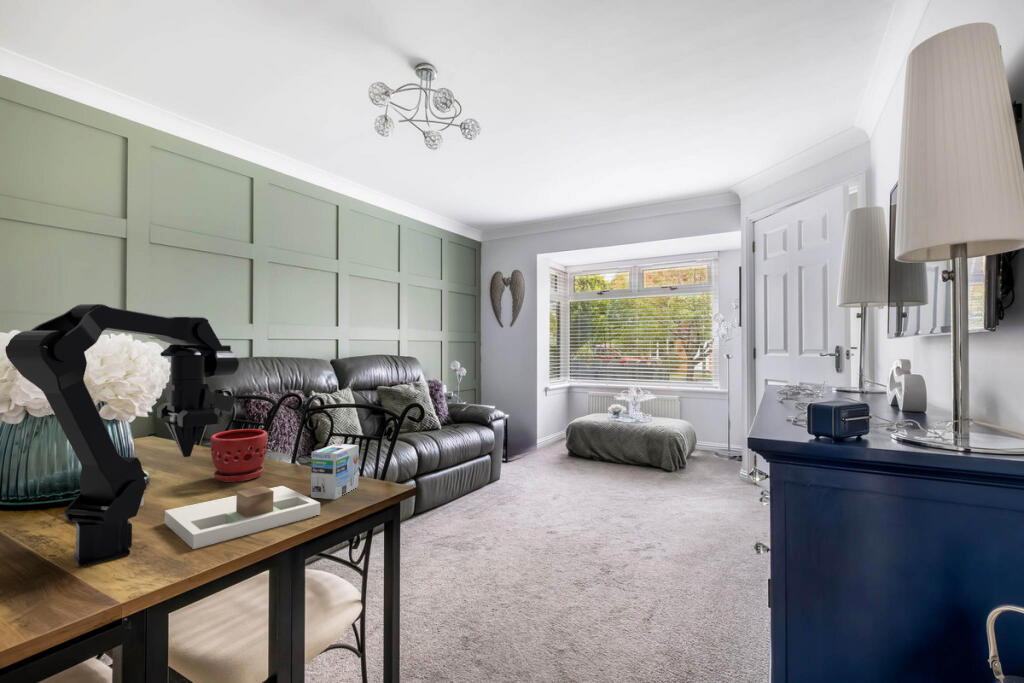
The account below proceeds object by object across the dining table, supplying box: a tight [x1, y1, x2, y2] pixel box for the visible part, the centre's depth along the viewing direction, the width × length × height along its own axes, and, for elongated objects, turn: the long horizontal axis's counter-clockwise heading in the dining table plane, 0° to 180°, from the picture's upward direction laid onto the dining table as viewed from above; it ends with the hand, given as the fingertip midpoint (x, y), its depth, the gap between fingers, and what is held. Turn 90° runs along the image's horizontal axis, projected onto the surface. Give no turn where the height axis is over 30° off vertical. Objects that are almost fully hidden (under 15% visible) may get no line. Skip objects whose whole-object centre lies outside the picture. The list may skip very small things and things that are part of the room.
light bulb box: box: [310, 443, 360, 500], centre depth 116 cm, size 11×7×11 cm, turn 168°
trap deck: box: [164, 485, 321, 550], centre depth 98 cm, size 23×18×2 cm
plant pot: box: [210, 428, 268, 483], centre depth 127 cm, size 13×13×12 cm
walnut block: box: [236, 486, 273, 518], centre depth 95 cm, size 5×5×4 cm
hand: (186, 456), depth 96 cm, fingers closed
